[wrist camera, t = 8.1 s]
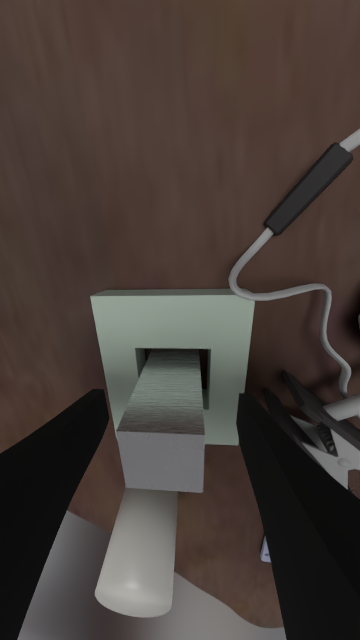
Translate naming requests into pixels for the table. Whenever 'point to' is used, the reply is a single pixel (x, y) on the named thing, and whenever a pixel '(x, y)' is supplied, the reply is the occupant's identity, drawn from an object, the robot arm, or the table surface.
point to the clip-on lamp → (333, 430)
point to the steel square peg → (165, 424)
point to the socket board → (177, 345)
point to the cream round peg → (141, 555)
